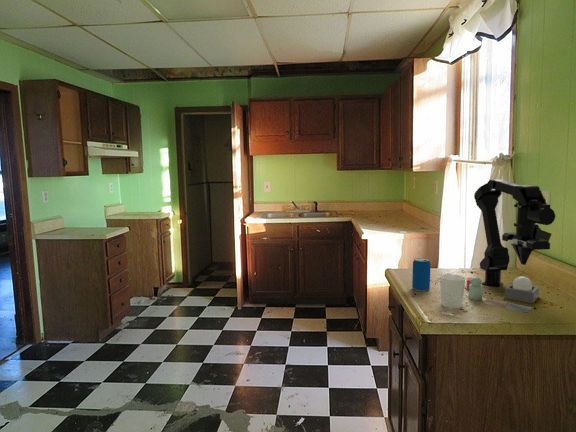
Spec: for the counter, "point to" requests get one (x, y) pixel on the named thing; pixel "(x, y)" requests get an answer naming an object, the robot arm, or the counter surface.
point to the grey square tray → (521, 294)
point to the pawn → (475, 289)
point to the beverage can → (421, 274)
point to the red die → (468, 282)
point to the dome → (522, 283)
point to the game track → (502, 304)
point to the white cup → (452, 290)
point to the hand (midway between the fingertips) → (523, 264)
